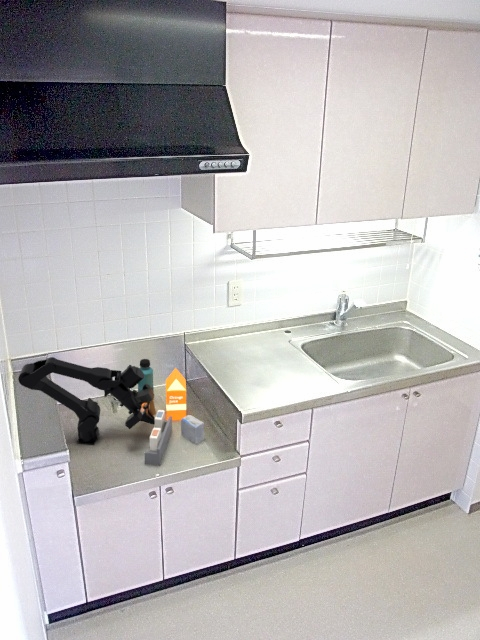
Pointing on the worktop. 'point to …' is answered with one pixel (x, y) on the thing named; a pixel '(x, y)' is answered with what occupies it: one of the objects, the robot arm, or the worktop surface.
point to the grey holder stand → (160, 445)
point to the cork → (152, 406)
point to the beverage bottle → (146, 374)
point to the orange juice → (176, 395)
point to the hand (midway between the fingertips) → (156, 423)
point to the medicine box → (192, 429)
